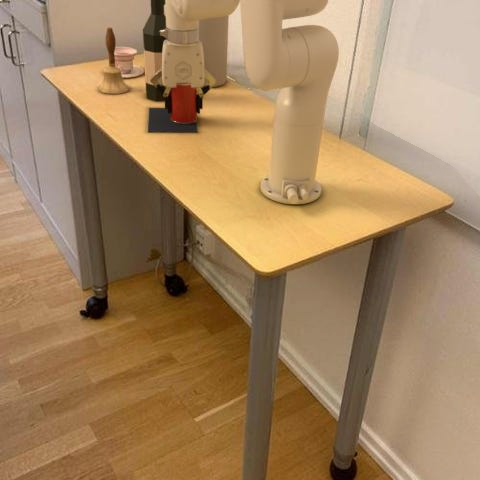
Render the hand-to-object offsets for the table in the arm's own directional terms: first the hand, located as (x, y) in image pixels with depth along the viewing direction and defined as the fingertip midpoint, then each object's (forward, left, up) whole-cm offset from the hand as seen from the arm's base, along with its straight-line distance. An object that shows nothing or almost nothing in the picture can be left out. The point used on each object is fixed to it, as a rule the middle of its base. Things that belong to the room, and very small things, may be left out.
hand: (183, 111), depth 147 cm
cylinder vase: (+30, -7, -3) cm, 31 cm away
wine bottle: (+17, +6, -3) cm, 18 cm away
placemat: (0, +3, -2) cm, 4 cm away
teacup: (+37, +17, -3) cm, 41 cm away
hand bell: (+22, +19, -3) cm, 29 cm away
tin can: (0, 0, -2) cm, 2 cm away
